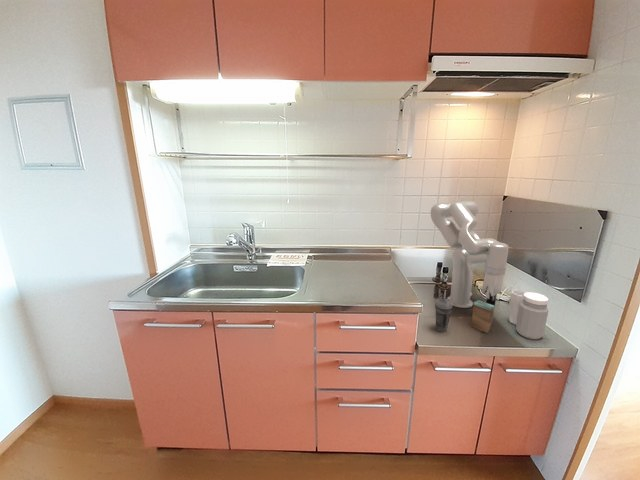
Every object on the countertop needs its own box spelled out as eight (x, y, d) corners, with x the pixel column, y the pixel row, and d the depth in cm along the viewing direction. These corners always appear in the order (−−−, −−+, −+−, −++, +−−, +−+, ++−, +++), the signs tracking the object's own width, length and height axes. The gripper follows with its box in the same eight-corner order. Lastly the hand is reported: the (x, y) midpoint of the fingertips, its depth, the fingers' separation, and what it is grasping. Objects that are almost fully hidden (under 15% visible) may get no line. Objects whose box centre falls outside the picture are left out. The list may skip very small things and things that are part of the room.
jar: (549, 338, 116) (557, 300, 111) (529, 342, 114) (537, 303, 110) (527, 326, 125) (534, 290, 121) (509, 329, 123) (515, 292, 119)
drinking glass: (514, 317, 133) (518, 288, 129) (528, 324, 126) (533, 294, 123) (503, 320, 131) (508, 291, 127) (517, 327, 124) (522, 297, 121)
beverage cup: (449, 326, 127) (453, 286, 122) (450, 334, 121) (455, 293, 115) (432, 323, 130) (435, 284, 125) (433, 331, 123) (436, 291, 118)
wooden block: (475, 323, 129) (478, 299, 126) (491, 329, 123) (494, 305, 120) (470, 326, 127) (473, 302, 124) (487, 332, 121) (490, 308, 118)
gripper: (493, 264, 129) (488, 299, 134) (478, 271, 121) (474, 309, 125) (511, 268, 124) (505, 305, 128) (497, 276, 115) (492, 315, 119)
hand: (490, 307), depth 127 cm, fingers closed
